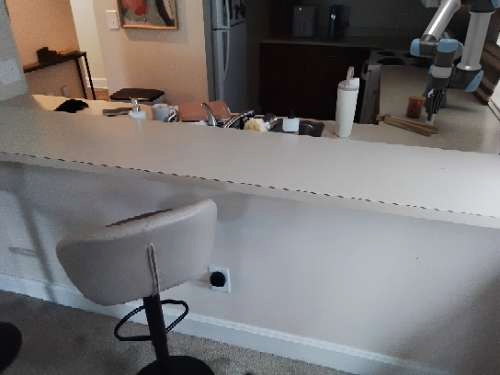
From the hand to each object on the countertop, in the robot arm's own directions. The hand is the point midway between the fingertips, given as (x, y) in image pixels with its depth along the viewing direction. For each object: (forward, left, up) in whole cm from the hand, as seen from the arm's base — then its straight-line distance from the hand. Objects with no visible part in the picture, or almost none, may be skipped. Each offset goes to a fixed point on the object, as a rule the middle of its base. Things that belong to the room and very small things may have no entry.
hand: (428, 126), depth 182 cm
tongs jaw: (+3, -6, -1) cm, 7 cm away
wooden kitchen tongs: (+6, -9, -1) cm, 11 cm away
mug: (-12, -15, -2) cm, 19 cm away
